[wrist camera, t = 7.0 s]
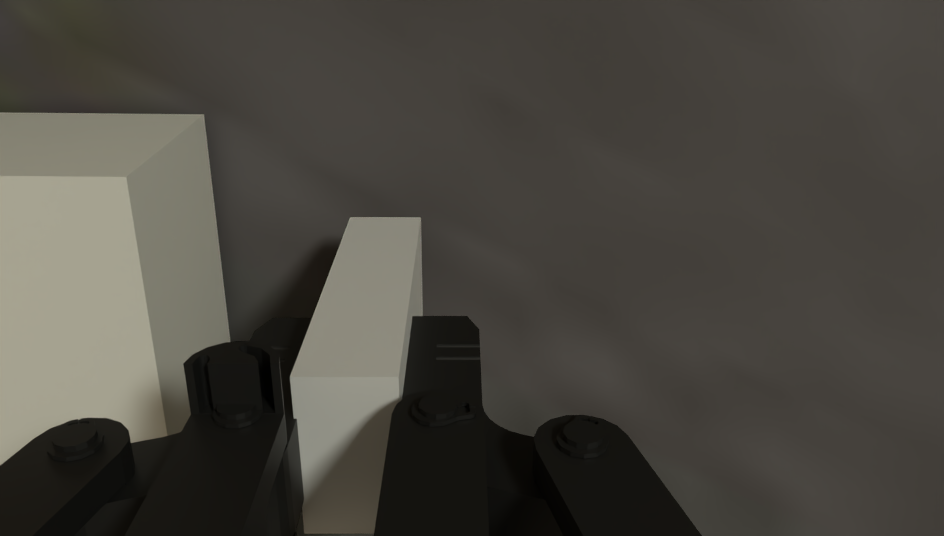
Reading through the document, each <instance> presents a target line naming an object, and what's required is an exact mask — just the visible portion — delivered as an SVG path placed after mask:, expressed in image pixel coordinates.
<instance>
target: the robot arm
mask: <svg viewBox="0 0 944 536" xmlns="http://www.w3.org/2000/svg"><path fill="white" fill-rule="evenodd" d="M183 365H184V372H185V379H186V385H187V392H188V398H189V405H190V412H191V415H190V417H189V419H188V420H187V422H186V424H185V426H184V428H183V430H182V431H181V432H179V433H176V434H173V435H169V436H165V437H160V438H155V439H150V440H144V441H139V442H134V443H131V441H130V435H129V430H128V429H127V428H126V427H125V426H124V425H123V424H122V423H121V422H118V421H115V420H112V419H109V418H81V419H79V420H78V419H76V420H71V421H68V422H66V423H63V424H61V425H58V426H55V427H53V428H50V429H48V430H47V431H45V432H43V433H42V434H40V435H39V436H37V437H35V438H34V439H33V440H31V441H30V442H29V443H28V444H26V445H25V446H24V447H23V448H21V449H20V450H19V451H18V452H16V453H15V454H14V455H13V456H11V457H10V458H9V459H8V460H6V461H5V462H4V463H3V464H1V465H0V536H297V532H296V528H297V524H298V520H299V517H300V513H301V509H302V513H303V524H304V534H349V533H374V536H702V535H701V534H700V533H699V531H698V530H697V529H696V527H695V526H694V525H693V523H692V522H691V520H690V519H689V518H688V516H687V515H686V514H685V512H684V511H683V510H682V508H681V507H680V506H679V504H678V503H677V501H676V500H675V499H674V497H673V496H672V495H671V493H670V492H669V491H668V489H667V488H666V487H665V485H664V484H663V482H662V481H661V480H660V478H659V477H658V476H657V474H656V473H655V472H654V470H653V469H652V467H651V466H650V465H649V463H648V462H647V461H646V459H645V458H644V457H643V455H642V454H641V453H640V451H639V450H638V448H637V447H636V446H635V444H634V443H633V442H632V440H631V439H630V438H629V436H628V435H627V434H626V433H625V432H624V431H622V430H621V429H620V428H619V427H618V426H617V425H615V424H612V423H610V422H608V421H606V420H604V419H601V418H596V417H592V416H586V415H565V416H562V417H558V418H554V419H551V420H549V421H547V422H546V423H544V424H543V425H542V426H540V427H539V428H538V430H537V432H536V434H535V436H534V437H532V436H527V435H522V434H519V433H515V432H512V431H508V430H506V429H504V428H502V427H500V426H498V425H497V424H495V423H494V422H493V421H492V420H490V419H489V418H488V416H487V415H486V414H485V412H484V409H483V406H482V389H481V364H480V340H479V329H478V328H477V327H476V325H475V324H474V323H473V322H472V321H471V320H470V319H469V318H468V317H467V316H423V303H422V250H421V217H350V219H349V222H348V225H347V227H346V230H345V232H344V235H343V238H342V240H341V243H340V246H339V248H338V251H337V254H336V256H335V259H334V262H333V264H332V267H331V269H330V272H329V275H328V277H327V280H326V283H325V285H324V288H323V291H322V293H321V296H320V298H319V301H318V304H317V306H316V309H315V312H314V314H313V317H312V318H272V319H271V320H269V321H268V322H267V323H265V324H264V325H263V326H261V327H260V328H258V329H257V330H256V331H255V332H254V334H253V336H252V338H251V340H250V342H249V341H236V342H225V343H221V344H217V345H214V346H210V347H207V348H205V349H203V350H201V351H199V352H197V353H195V354H193V355H192V356H190V357H189V358H188V359H187V360H186V361H185V362H184V363H183Z"/></svg>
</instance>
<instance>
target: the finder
mask: <svg viewBox="0 0 944 536" xmlns="http://www.w3.org/2000/svg"><path fill="white" fill-rule="evenodd" d="M225 342H230V334H229V326H228V317H227V309H226V300H225V292H224V283H223V274H222V266H221V257H220V249H219V240H218V232H217V223H216V214H215V206H214V197H213V189H212V180H211V172H210V163H209V154H208V146H207V137H206V129H205V120H204V114H100V113H0V465H1V464H3V463H4V462H5V461H6V460H8V459H9V458H10V457H11V456H13V455H14V454H15V453H16V452H18V451H19V450H20V449H21V448H23V447H24V446H25V445H26V444H28V443H29V442H30V441H31V440H33V439H34V438H35V437H37V436H39V435H40V434H42V433H43V432H45V431H47V430H48V429H50V428H53V427H55V426H58V425H61V424H63V423H66V422H68V421H71V420H76V419H78V420H79V419H81V418H109V419H112V420H115V421H118V422H121V423H122V424H123V425H124V426H125V427H126V428H127V429H128V430H129V435H130V441H131V443H134V442H139V441H144V440H150V439H155V438H160V437H165V436H169V435H173V434H176V433H179V432H181V431H182V430H183V428H184V426H185V424H186V422H187V420H188V419H189V417H190V415H191V412H190V405H189V398H188V392H187V385H186V379H185V372H184V365H183V363H184V362H185V361H186V360H187V359H188V358H189V357H190V356H192V355H193V354H195V353H197V352H199V351H201V350H203V349H205V348H207V347H210V346H214V345H217V344H221V343H225Z"/></svg>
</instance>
